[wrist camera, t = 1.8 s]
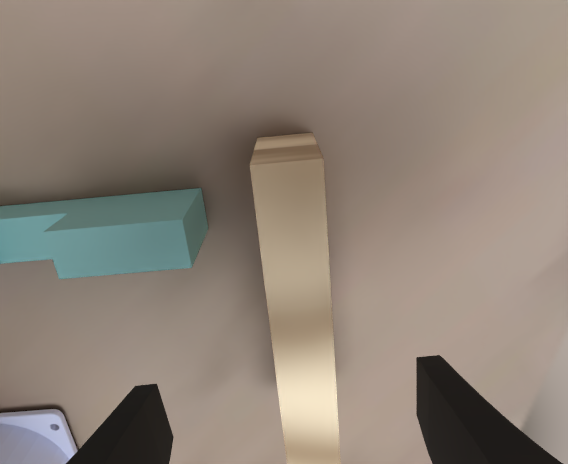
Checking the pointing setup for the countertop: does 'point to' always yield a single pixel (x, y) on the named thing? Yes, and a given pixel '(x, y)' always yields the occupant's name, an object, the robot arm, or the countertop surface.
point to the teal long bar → (107, 233)
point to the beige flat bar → (298, 291)
